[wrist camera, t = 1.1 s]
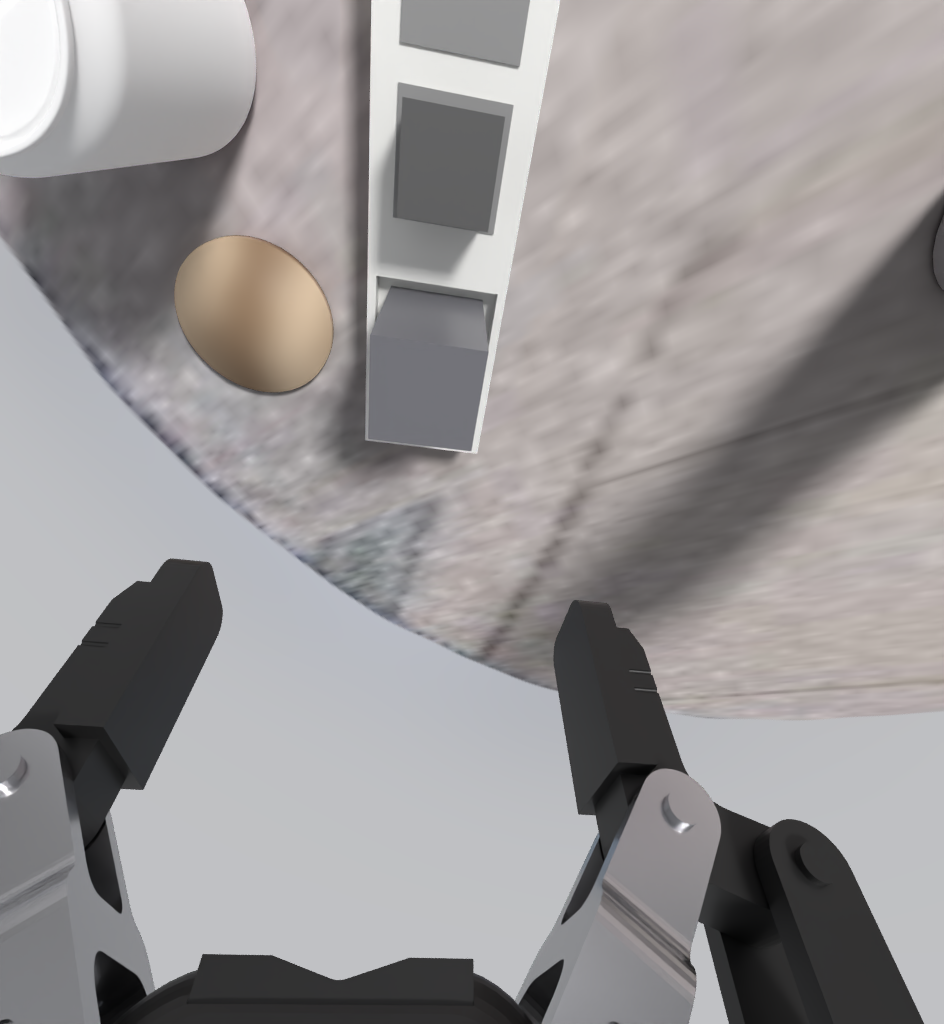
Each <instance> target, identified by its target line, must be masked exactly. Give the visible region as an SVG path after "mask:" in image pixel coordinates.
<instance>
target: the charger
mask: <svg viewBox="0 0 944 1024" xmlns="http://www.w3.org/2000/svg"><path fill="white" fill-rule="evenodd" d="M488 353H489V350H488V342H487V333H486V325H485V316H484V308H483V300H480V299H474V298H467V297H461V296H454V295H448V294H441V293H435V292H428V291H422V290H416V289H409V288H403V287H396V286H391V288H390V290H389V292H388V294H387V297H386V299H385V301H384V304H383V306H382V308H381V311H380V313H379V315H378V317H377V320H376V322H375V324H374V327H373V329H372V331H371V334H370V363H369V417H368V439H372V440H381V441H389V442H397V443H406V444H414V445H422V446H430V447H439V448H447V449H455V450H464V451H471V450H472V445H473V439H474V433H475V427H476V422H477V416H478V410H479V404H480V399H481V393H482V387H483V381H484V376H485V370H486V364H487V359H488Z"/></svg>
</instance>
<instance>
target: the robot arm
mask: <svg viewBox="0 0 944 1024" xmlns="http://www.w3.org/2000/svg"><path fill="white" fill-rule="evenodd" d="M933 267H934V273H935V276H936V279H937V281H938V284H939V286H940V287H941V288H942V289H943V290H944V216H943V218H942V221H941V224H940V226H939V229H938V231H937V234H936V239H935V245H934V250H933ZM222 615H223V610H222V604H221V600H220V596H219V592H218V588H217V585H216V580H215V576H214V572H213V568H212V566H211V564H210V563H209V562H201V561H191V560H181V559H168V560H167V561H166V562H164V564H163V565H162V566H161V568H160V569H159V571H158V572H157V573H156V575H155V576H154V578H153V579H152V581H151V582H142V581H137V582H135V583H134V584H133V585H131V586H130V587H129V588H127V589H126V590H124V591H123V592H122V593H120V594H119V595H118V596H116V597H115V598H113V599H112V600H111V602H110V603H109V605H108V606H107V607H106V609H105V610H104V611H103V613H102V614H101V615H100V617H99V618H98V619H97V621H96V625H95V626H93V627H91V629H90V630H89V631H88V633H87V634H86V636H85V637H84V638H83V640H82V644H81V645H78V646H77V648H76V649H75V650H74V652H73V653H72V654H71V656H70V657H69V658H68V660H67V661H66V663H65V664H64V665H63V666H62V668H61V669H60V670H59V672H58V673H57V674H56V676H55V677H54V678H53V680H52V681H51V683H50V684H49V685H48V687H47V688H46V689H45V691H44V692H43V693H42V695H41V696H40V697H39V699H38V700H37V702H36V703H35V704H34V706H33V707H32V708H31V709H30V711H29V712H28V714H27V715H26V716H25V717H24V719H23V720H22V721H21V722H20V723H19V724H18V726H16V727H15V728H14V729H13V730H12V731H11V732H7V733H4V734H1V735H0V1024H688V1023H689V1020H690V1015H691V1011H692V1007H693V1002H694V998H695V992H696V972H695V969H694V967H693V966H692V964H691V962H690V951H691V946H692V942H693V938H694V934H695V931H696V927H697V923H698V922H700V923H703V924H704V927H705V931H706V935H707V938H708V943H709V946H710V951H711V954H712V958H713V962H714V966H715V970H716V974H717V978H718V982H719V986H720V990H721V994H722V998H723V1002H724V1006H725V1009H726V1013H727V1017H728V1021H729V1024H924V1023H923V1021H922V1018H921V1016H920V1014H919V1012H918V1010H917V1008H916V1006H915V1004H914V1002H913V999H912V997H911V995H910V993H909V991H908V989H907V987H906V985H905V982H904V980H903V978H902V976H901V974H900V972H899V970H898V968H897V965H896V963H895V961H894V959H893V957H892V955H891V953H890V951H889V949H888V946H887V944H886V942H885V940H884V938H883V936H882V934H881V932H880V929H879V927H878V925H877V923H876V921H875V919H874V917H873V915H872V913H871V911H870V908H869V906H868V904H867V902H866V900H865V898H864V896H863V894H862V891H861V889H860V887H859V885H858V883H857V881H856V879H855V877H854V875H853V872H852V870H851V868H850V867H849V865H848V863H847V861H846V860H845V858H844V857H843V855H842V854H841V852H840V851H839V850H838V849H837V847H836V846H835V845H834V844H833V843H832V842H831V841H830V840H829V839H828V838H827V837H826V836H825V835H823V834H822V833H821V832H820V831H818V830H817V829H815V828H814V827H812V826H810V825H808V824H807V823H804V822H801V821H798V820H792V819H786V820H782V821H780V822H778V823H776V824H775V825H773V826H772V827H768V826H765V825H763V824H761V823H758V822H756V821H754V820H751V819H749V818H746V817H744V816H742V815H739V814H737V813H734V812H732V811H730V810H727V809H725V808H723V807H721V806H719V805H718V804H716V803H715V802H713V801H712V799H711V798H710V796H709V795H708V794H707V792H706V791H705V790H704V788H703V787H702V786H701V785H699V784H698V782H696V781H695V780H694V779H692V778H691V777H689V775H688V774H687V772H686V770H685V768H684V766H683V763H682V761H681V758H680V755H679V752H678V749H677V746H676V743H675V740H674V737H673V735H672V731H671V729H670V725H669V723H668V720H667V717H666V714H665V711H664V708H663V705H662V702H661V699H660V696H659V694H658V693H657V687H656V684H655V681H654V678H653V675H651V673H650V672H651V669H650V667H649V664H648V661H647V658H646V655H645V652H644V649H643V647H642V646H641V645H640V644H639V642H638V641H637V640H636V638H635V637H634V636H633V634H632V633H631V632H630V630H629V629H626V628H616V624H615V621H614V618H613V614H612V611H611V608H610V606H609V605H608V604H607V603H599V602H589V601H579V600H574V601H573V602H572V604H571V606H570V608H569V610H568V613H567V615H566V617H565V620H564V622H563V624H562V627H561V629H560V631H559V634H558V636H557V638H556V641H555V646H554V668H555V674H556V680H557V687H558V693H559V698H560V704H561V711H562V717H563V723H564V729H565V735H566V741H567V748H568V753H569V760H570V766H571V772H572V777H573V784H574V790H575V796H576V802H577V809H578V814H582V815H596V819H597V825H598V830H599V833H598V834H597V836H596V838H595V840H594V842H593V844H592V846H591V849H590V851H589V853H588V855H587V857H586V859H585V861H584V864H583V866H582V868H581V870H580V872H579V875H578V876H577V879H576V881H575V883H574V885H573V888H572V890H571V892H570V894H569V896H568V898H567V900H566V902H565V904H564V907H563V909H562V911H561V913H560V915H559V917H558V919H557V921H556V924H555V925H554V927H553V929H552V931H551V933H550V934H549V936H548V937H547V939H546V940H545V942H544V944H543V945H542V947H541V949H540V951H539V952H538V954H537V956H536V958H535V960H534V962H533V964H532V966H531V968H530V970H529V972H528V974H527V976H526V978H525V980H524V983H523V985H522V987H521V989H520V991H519V993H518V995H517V997H516V1000H515V1001H514V1000H513V999H512V998H511V997H510V996H509V995H508V994H507V993H505V992H504V991H503V990H502V989H501V988H499V987H498V986H497V985H495V984H494V983H492V982H490V981H489V980H487V979H485V978H484V977H482V976H479V975H477V974H475V973H473V959H446V958H408V959H405V960H402V961H399V962H396V963H393V964H390V965H387V966H384V967H381V968H378V969H375V970H372V971H369V972H366V973H363V974H360V975H357V976H354V977H351V978H348V979H345V980H333V979H330V978H328V977H325V976H323V975H320V974H317V973H315V972H312V971H310V970H307V969H305V968H302V967H300V966H297V965H295V964H292V963H290V962H287V961H285V960H282V959H280V958H277V957H275V956H272V955H218V954H217V955H215V954H203V955H202V958H201V962H200V965H199V968H198V970H196V971H193V972H190V973H187V974H185V975H183V976H181V977H179V978H177V979H175V980H173V981H170V982H168V983H167V984H165V985H163V986H162V987H160V988H158V989H157V990H155V987H154V983H153V978H152V973H151V969H150V965H149V960H148V956H147V953H146V949H145V946H144V943H143V940H142V937H141V935H140V932H139V930H138V928H137V926H136V924H135V922H134V919H133V916H132V912H131V908H130V904H129V899H128V894H127V890H126V885H125V880H124V876H123V870H122V865H121V861H120V856H119V851H118V846H117V841H116V837H115V832H114V827H113V822H112V817H111V813H110V808H111V806H112V804H113V802H114V801H115V799H116V797H117V795H118V793H119V791H120V789H136V790H143V789H144V787H145V785H146V783H147V780H148V779H149V777H150V774H151V772H152V770H153V768H154V766H155V764H156V762H157V760H158V758H159V756H160V754H161V752H162V750H163V747H164V746H165V743H166V741H167V739H168V737H169V735H170V733H171V731H172V729H173V727H174V725H175V723H176V721H177V719H178V717H179V715H180V712H181V710H182V708H183V706H184V704H185V702H186V700H187V698H188V696H189V694H190V692H191V690H192V687H193V686H194V683H195V681H196V680H197V677H198V675H199V673H200V671H201V669H202V667H203V665H204V663H205V661H206V659H207V657H208V655H209V653H210V650H211V648H212V646H213V644H214V642H215V640H216V638H217V636H218V634H219V631H220V627H221V623H222Z"/></svg>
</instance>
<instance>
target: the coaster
mask: <svg viewBox="0 0 944 1024" xmlns="http://www.w3.org/2000/svg"><path fill="white" fill-rule="evenodd" d="M174 299H175V307H176V312H177V316H178V319H179V322H180V325H181V327H182V330H183V332H184V334H185V335H186V337H187V339H188V341H189V342H190V344H191V345H192V347H193V348H194V350H195V351H196V352H197V353H198V354H199V356H200V357H201V358H202V359H203V360H204V361H205V362H206V363H207V364H208V365H209V366H210V367H212V368H213V369H214V370H215V371H216V372H218V373H219V374H221V375H222V376H224V377H225V378H227V379H229V380H230V381H232V382H234V383H236V384H239V385H241V386H243V387H246V388H250V389H253V390H257V391H263V392H284V391H289V390H293V389H296V388H299V387H301V386H303V385H305V384H306V383H308V382H309V381H310V380H312V379H313V378H314V377H315V376H316V375H317V374H318V373H319V372H320V370H321V369H322V367H323V366H324V364H325V362H326V360H327V358H328V356H329V354H330V351H331V348H332V343H333V331H334V329H333V319H332V315H331V310H330V307H329V304H328V301H327V299H326V297H325V295H324V293H323V291H322V289H321V287H320V286H319V284H318V283H317V281H316V279H315V278H314V277H313V276H312V274H311V273H310V272H309V271H308V270H307V269H306V268H305V267H304V266H303V264H302V263H301V262H299V261H298V260H297V259H296V258H295V257H293V256H292V255H291V254H289V253H288V252H286V251H285V250H283V249H282V248H280V247H278V246H276V245H274V244H272V243H270V242H267V241H264V240H262V239H259V238H254V237H250V236H241V235H233V236H224V237H220V238H216V239H214V240H211V241H209V242H206V243H204V244H202V245H201V246H199V247H198V248H196V249H195V250H194V251H193V252H191V253H190V254H189V255H188V256H187V258H186V259H185V260H184V262H183V263H182V265H181V267H180V269H179V271H178V274H177V278H176V282H175V289H174Z"/></svg>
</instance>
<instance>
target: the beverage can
mask: <svg viewBox="0 0 944 1024" xmlns="http://www.w3.org/2000/svg"><path fill="white" fill-rule="evenodd" d="M255 83H256V52H255V43H254V37H253V31H252V26H251V22H250V18H249V14H248V11H247V8H246V4H245V1H244V0H0V174H1V175H6V176H12V177H21V178H44V177H53V176H61V175H68V174H76V173H84V172H92V171H99V170H107V169H115V168H122V167H130V166H138V165H146V164H153V163H161V162H169V161H176V160H184V159H192V158H198V157H203V156H206V155H209V154H212V153H214V152H216V151H218V150H220V149H221V148H223V147H224V146H225V145H227V144H228V143H229V142H230V141H231V140H232V139H233V138H234V137H235V136H236V134H237V133H238V132H239V130H240V129H241V127H242V126H243V124H244V122H245V120H246V118H247V116H248V113H249V110H250V108H251V104H252V100H253V96H254V91H255Z"/></svg>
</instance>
